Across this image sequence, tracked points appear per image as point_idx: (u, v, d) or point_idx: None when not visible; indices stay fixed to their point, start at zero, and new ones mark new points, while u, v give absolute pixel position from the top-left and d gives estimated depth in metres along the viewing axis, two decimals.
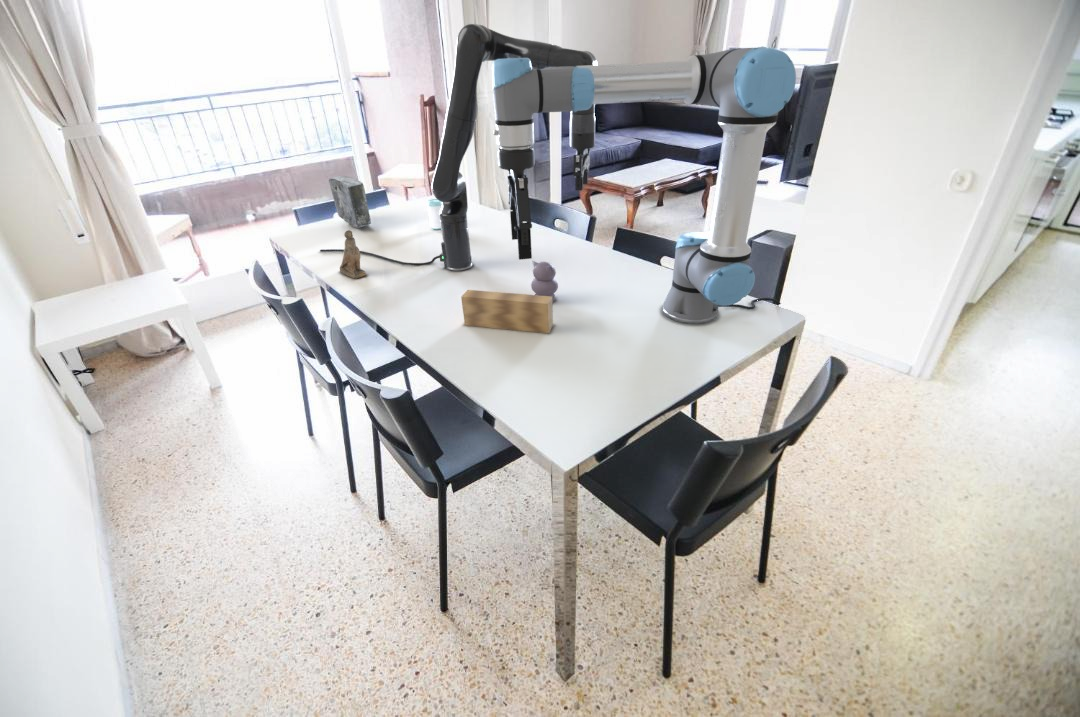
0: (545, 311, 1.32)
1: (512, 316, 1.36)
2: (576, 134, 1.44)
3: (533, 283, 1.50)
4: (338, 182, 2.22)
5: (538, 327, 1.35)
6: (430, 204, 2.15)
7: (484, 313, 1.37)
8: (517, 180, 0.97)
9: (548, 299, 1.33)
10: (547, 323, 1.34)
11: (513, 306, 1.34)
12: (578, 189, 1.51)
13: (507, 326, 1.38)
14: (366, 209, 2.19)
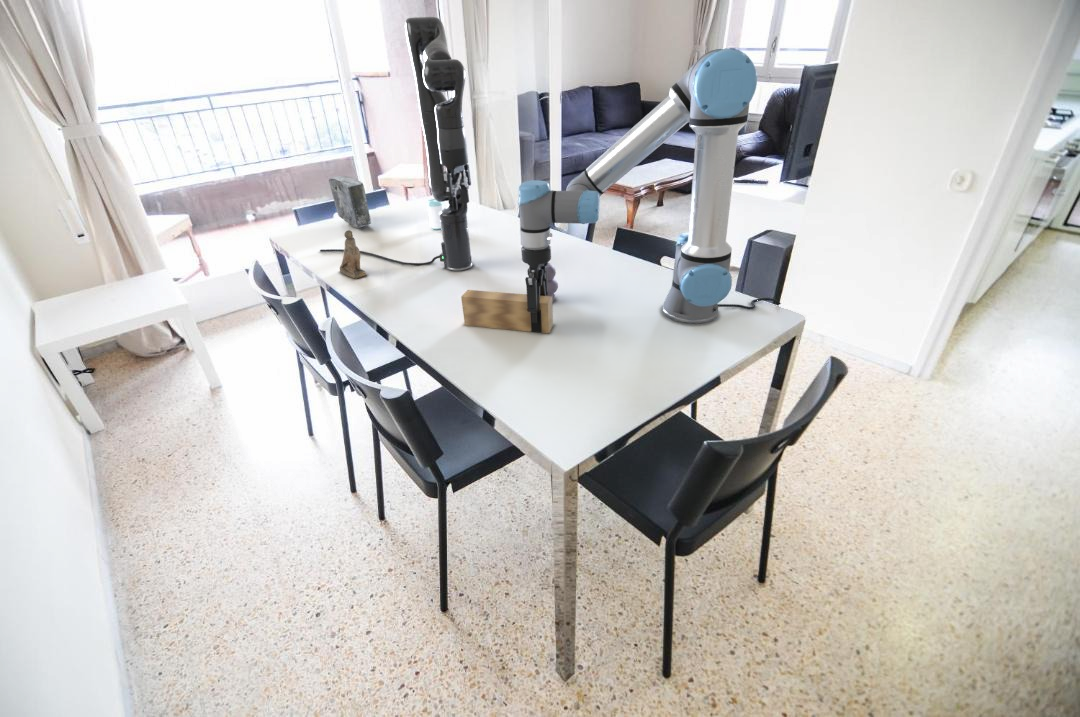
0: (545, 311, 1.32)
1: (512, 316, 1.36)
2: (443, 150, 1.31)
3: None
4: (338, 182, 2.22)
5: None
6: (430, 204, 2.15)
7: (484, 313, 1.37)
8: None
9: (548, 299, 1.33)
10: (547, 323, 1.34)
11: (513, 306, 1.34)
12: (452, 210, 1.38)
13: (507, 326, 1.38)
14: (366, 209, 2.19)
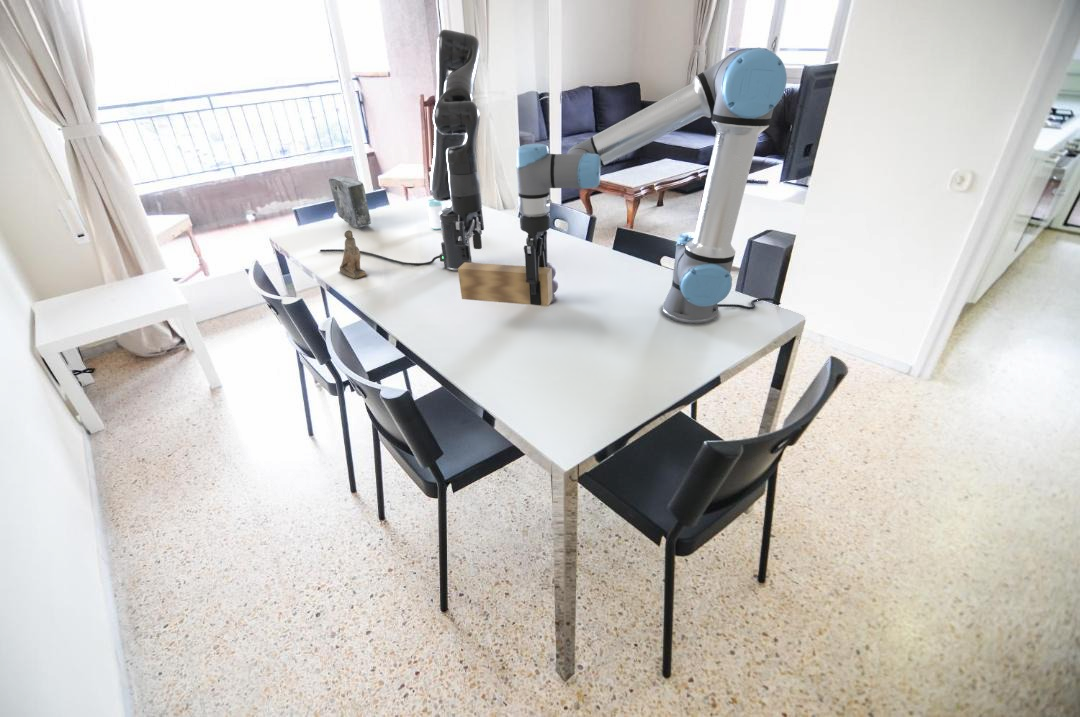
0: (544, 282, 1.28)
1: (510, 289, 1.31)
2: (455, 197, 1.21)
3: None
4: (338, 182, 2.22)
5: None
6: (430, 204, 2.15)
7: (481, 286, 1.33)
8: None
9: (548, 270, 1.29)
10: (546, 295, 1.30)
11: (511, 278, 1.30)
12: (465, 259, 1.28)
13: (505, 299, 1.33)
14: (366, 209, 2.19)
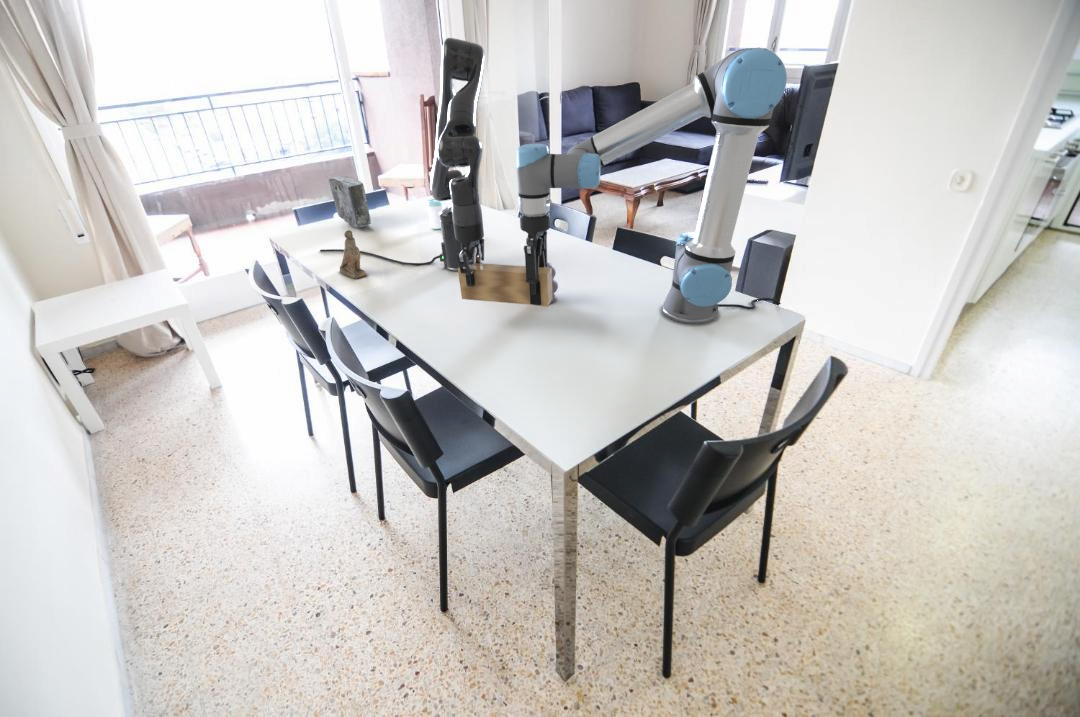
0: (544, 282, 1.28)
1: (510, 289, 1.31)
2: (458, 226, 1.25)
3: None
4: (338, 182, 2.22)
5: None
6: (430, 204, 2.15)
7: (481, 285, 1.33)
8: None
9: (548, 270, 1.29)
10: (546, 295, 1.30)
11: (511, 277, 1.30)
12: (469, 285, 1.33)
13: (505, 299, 1.33)
14: (366, 209, 2.19)
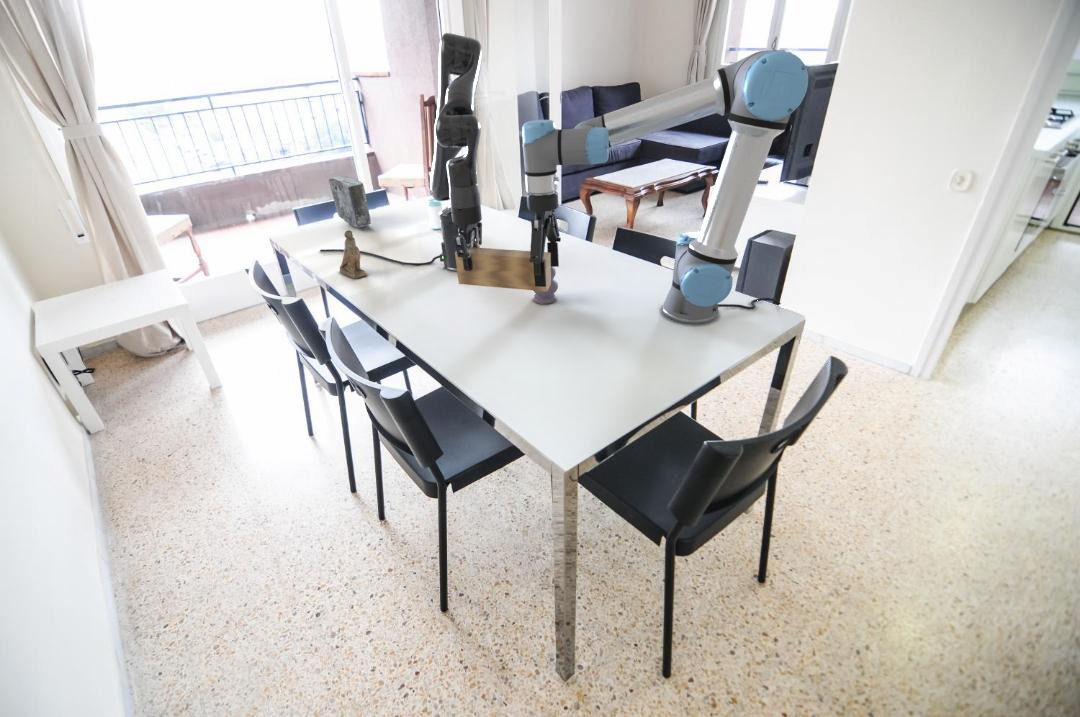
0: None
1: (508, 274, 1.29)
2: (456, 209, 1.22)
3: None
4: (338, 182, 2.22)
5: None
6: (430, 204, 2.15)
7: (479, 270, 1.31)
8: None
9: (546, 255, 1.26)
10: None
11: (509, 262, 1.27)
12: (467, 269, 1.31)
13: (503, 284, 1.31)
14: (366, 209, 2.19)
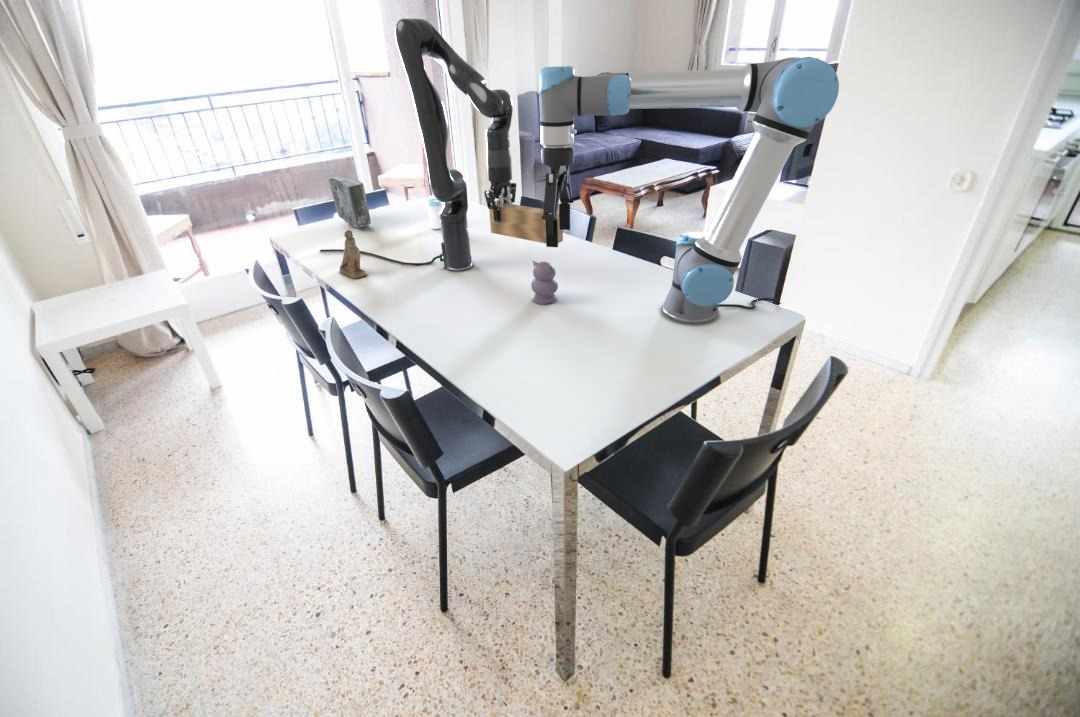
0: None
1: (526, 227, 1.54)
2: (489, 168, 1.50)
3: (533, 283, 1.50)
4: (338, 182, 2.22)
5: None
6: (430, 204, 2.15)
7: (505, 222, 1.57)
8: None
9: (557, 213, 1.48)
10: None
11: (527, 216, 1.52)
12: (496, 221, 1.58)
13: (522, 236, 1.56)
14: (366, 209, 2.19)
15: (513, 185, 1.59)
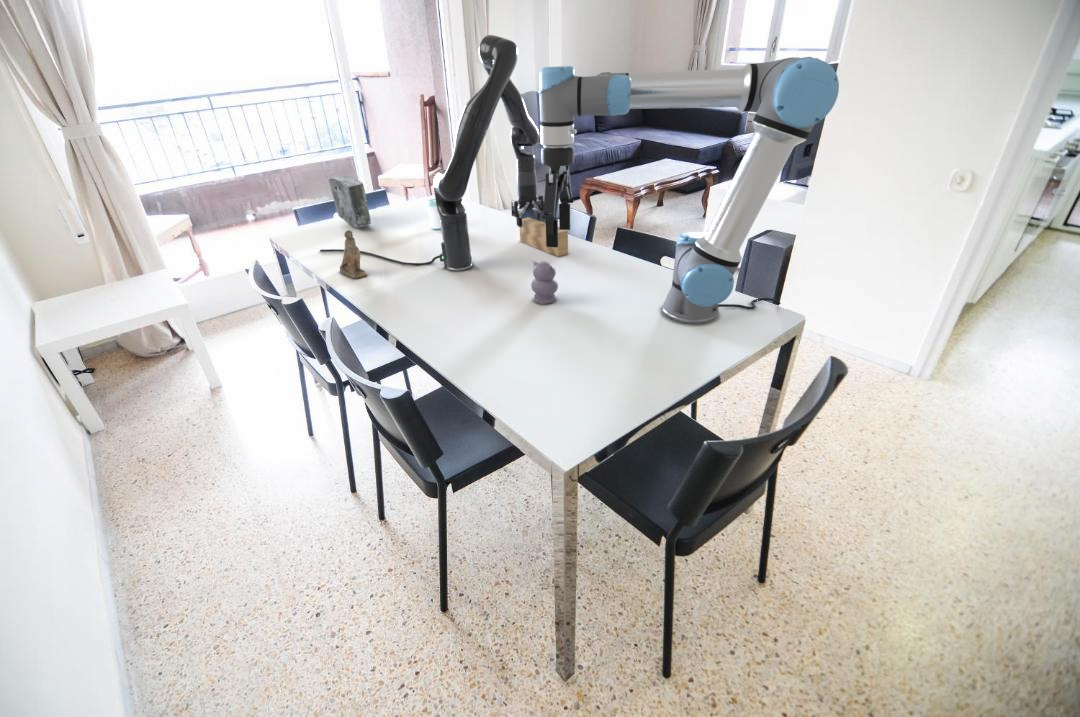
0: None
1: (541, 239, 1.91)
2: (517, 185, 1.89)
3: (533, 283, 1.50)
4: (338, 182, 2.22)
5: (553, 250, 1.87)
6: (430, 204, 2.15)
7: (529, 234, 1.97)
8: None
9: (562, 231, 1.83)
10: (557, 248, 1.85)
11: (541, 231, 1.89)
12: (519, 226, 1.96)
13: (539, 246, 1.94)
14: (366, 209, 2.19)
15: (540, 197, 1.96)
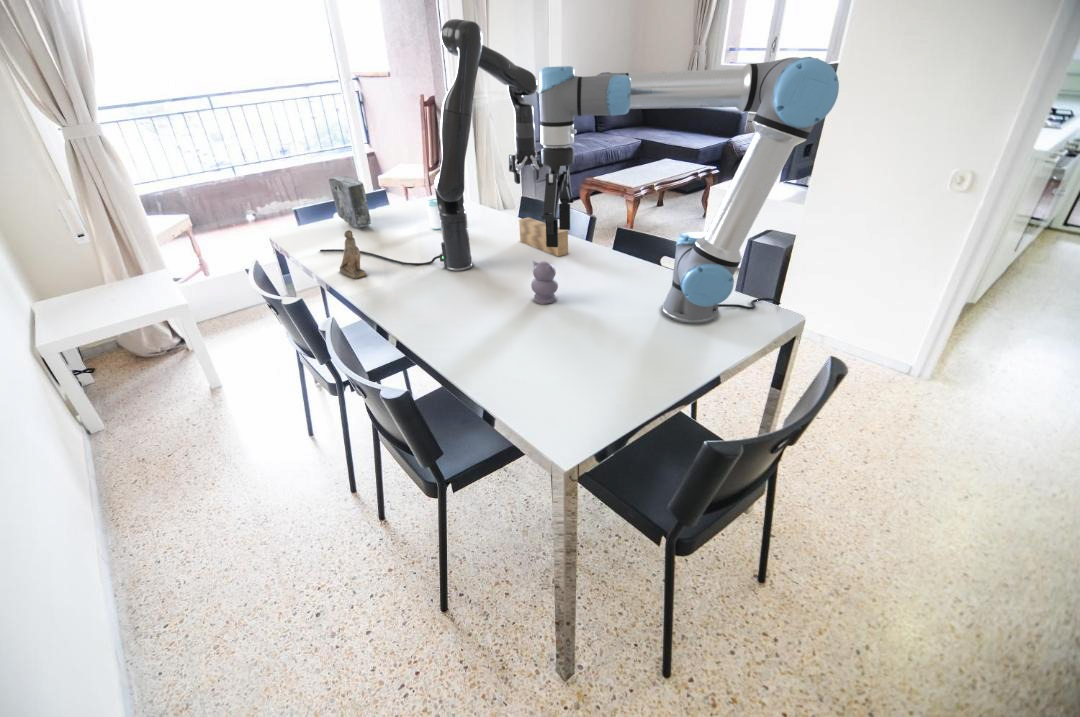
0: None
1: (541, 239, 1.91)
2: (515, 138, 1.80)
3: (533, 283, 1.50)
4: (338, 182, 2.22)
5: (553, 250, 1.87)
6: (430, 204, 2.15)
7: (529, 234, 1.97)
8: None
9: (562, 231, 1.83)
10: (557, 248, 1.85)
11: (541, 231, 1.89)
12: (516, 182, 1.87)
13: (539, 246, 1.94)
14: (366, 209, 2.19)
15: (539, 153, 1.87)
